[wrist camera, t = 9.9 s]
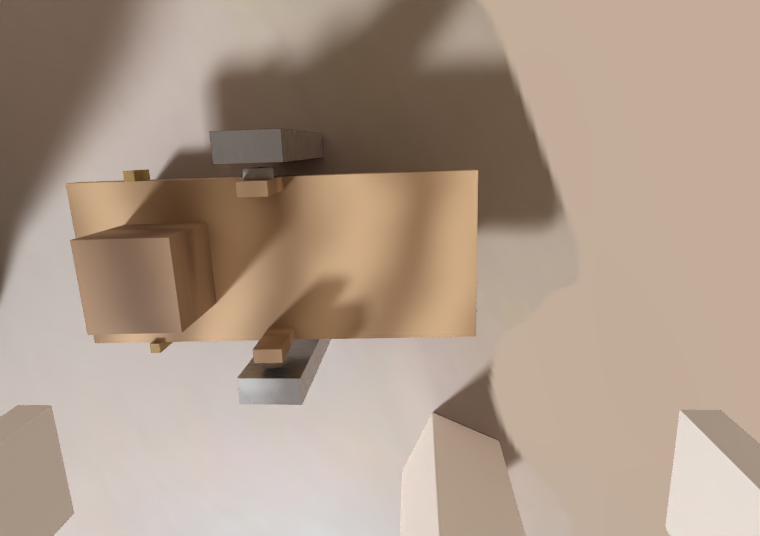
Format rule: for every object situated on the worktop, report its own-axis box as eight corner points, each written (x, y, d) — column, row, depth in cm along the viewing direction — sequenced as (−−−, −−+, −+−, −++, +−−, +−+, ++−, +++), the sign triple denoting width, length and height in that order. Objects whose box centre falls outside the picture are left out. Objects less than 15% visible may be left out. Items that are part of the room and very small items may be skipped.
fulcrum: (288, 333, 39) (239, 404, 28) (272, 135, 35) (209, 131, 24) (333, 332, 38) (302, 404, 28) (321, 134, 35) (280, 128, 24)
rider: (137, 304, 30) (87, 334, 26) (124, 224, 29) (70, 240, 24) (216, 303, 30) (181, 332, 25) (207, 222, 29) (168, 237, 24)
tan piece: (141, 321, 37) (61, 376, 28) (117, 169, 34) (20, 176, 25) (463, 315, 36) (485, 369, 27) (465, 157, 33) (489, 161, 24)
